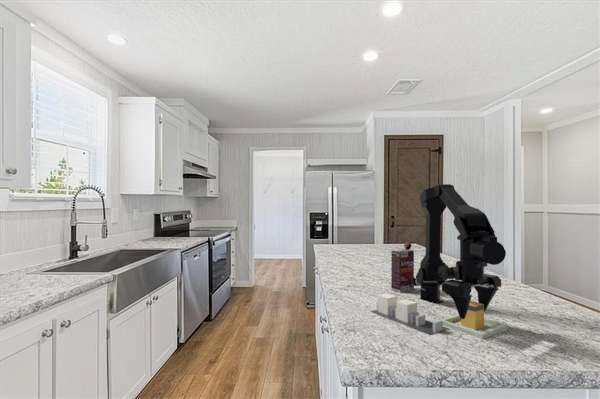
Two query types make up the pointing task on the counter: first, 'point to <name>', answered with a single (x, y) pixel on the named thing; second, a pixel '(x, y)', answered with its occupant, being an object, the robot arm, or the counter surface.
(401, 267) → the supplement box
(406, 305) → the block
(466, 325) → the block
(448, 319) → the tray
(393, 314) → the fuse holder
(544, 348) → the counter surface
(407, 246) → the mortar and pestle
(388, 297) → the block
